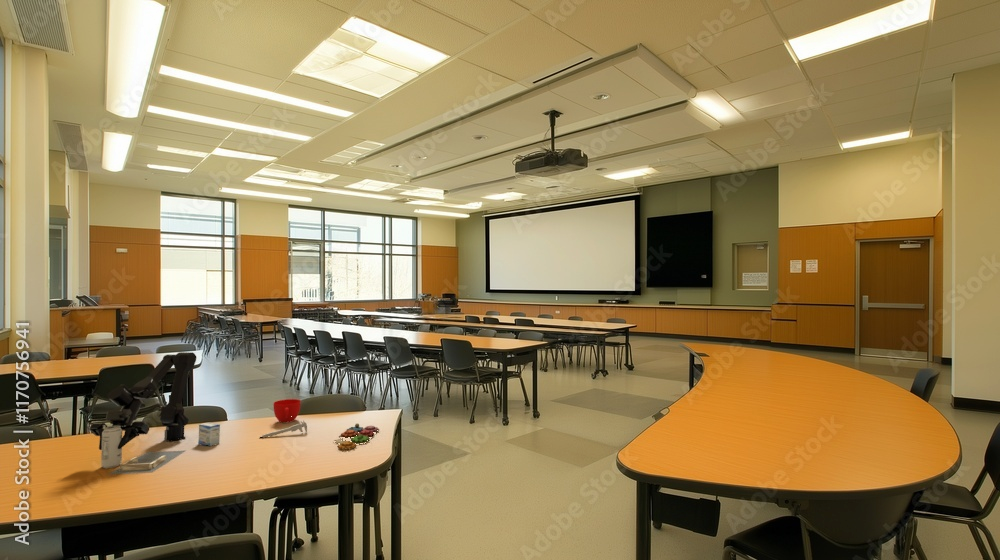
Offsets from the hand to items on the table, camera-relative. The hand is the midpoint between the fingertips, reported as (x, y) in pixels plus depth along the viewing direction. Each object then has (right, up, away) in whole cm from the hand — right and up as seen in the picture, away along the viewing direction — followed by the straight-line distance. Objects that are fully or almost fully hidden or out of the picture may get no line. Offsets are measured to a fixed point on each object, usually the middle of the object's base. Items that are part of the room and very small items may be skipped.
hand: (109, 449), depth 176 cm
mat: (+11, -7, +6) cm, 14 cm away
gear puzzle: (+82, -9, +35) cm, 90 cm away
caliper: (+47, -9, +41) cm, 63 cm away
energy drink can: (0, -7, +1) cm, 7 cm away
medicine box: (+20, -8, +28) cm, 36 cm away
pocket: (+12, -7, +2) cm, 14 cm away
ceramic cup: (+39, -9, +63) cm, 74 cm away
